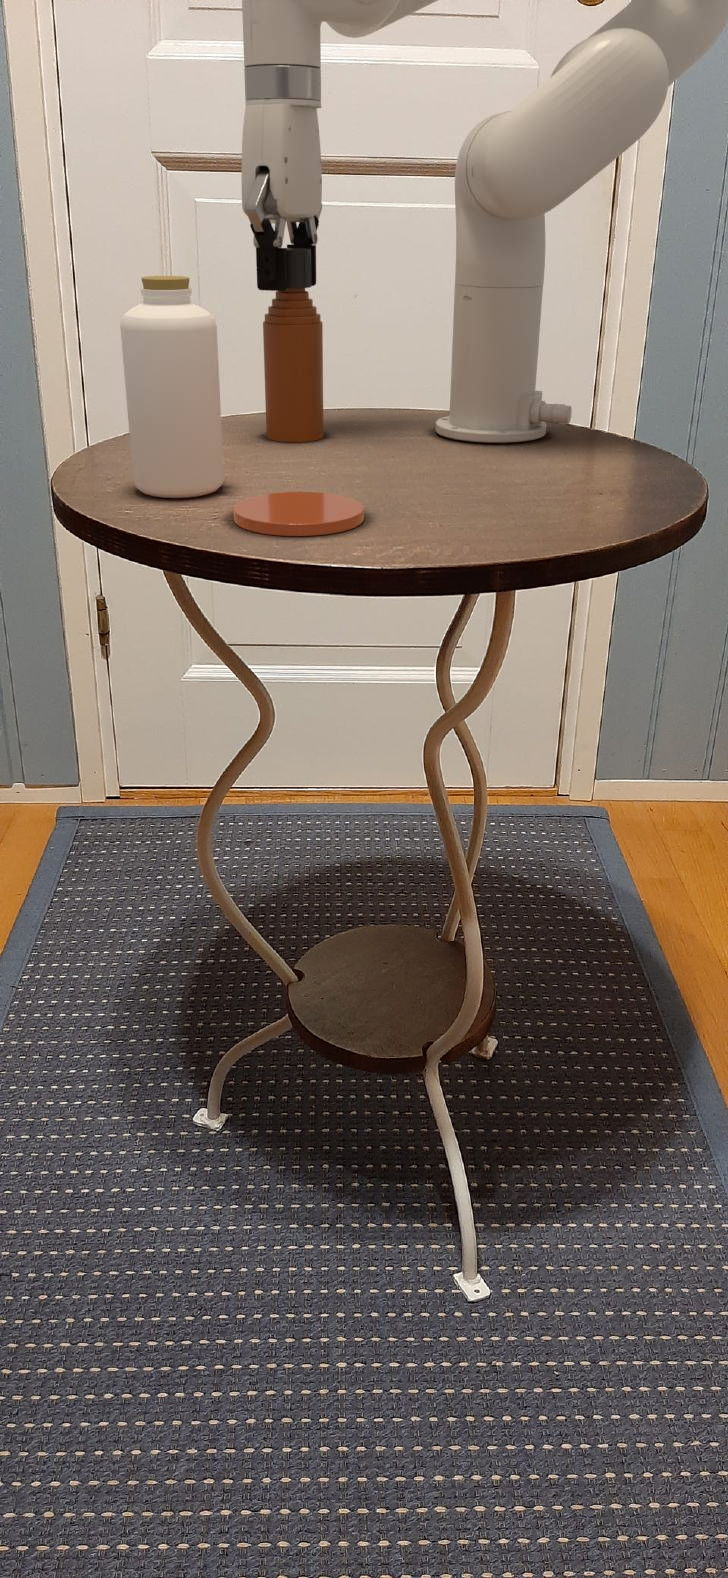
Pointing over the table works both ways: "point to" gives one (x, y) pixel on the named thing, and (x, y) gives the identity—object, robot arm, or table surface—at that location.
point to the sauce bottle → (293, 368)
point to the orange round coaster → (298, 513)
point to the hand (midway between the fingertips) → (287, 286)
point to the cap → (298, 267)
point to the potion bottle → (172, 391)
